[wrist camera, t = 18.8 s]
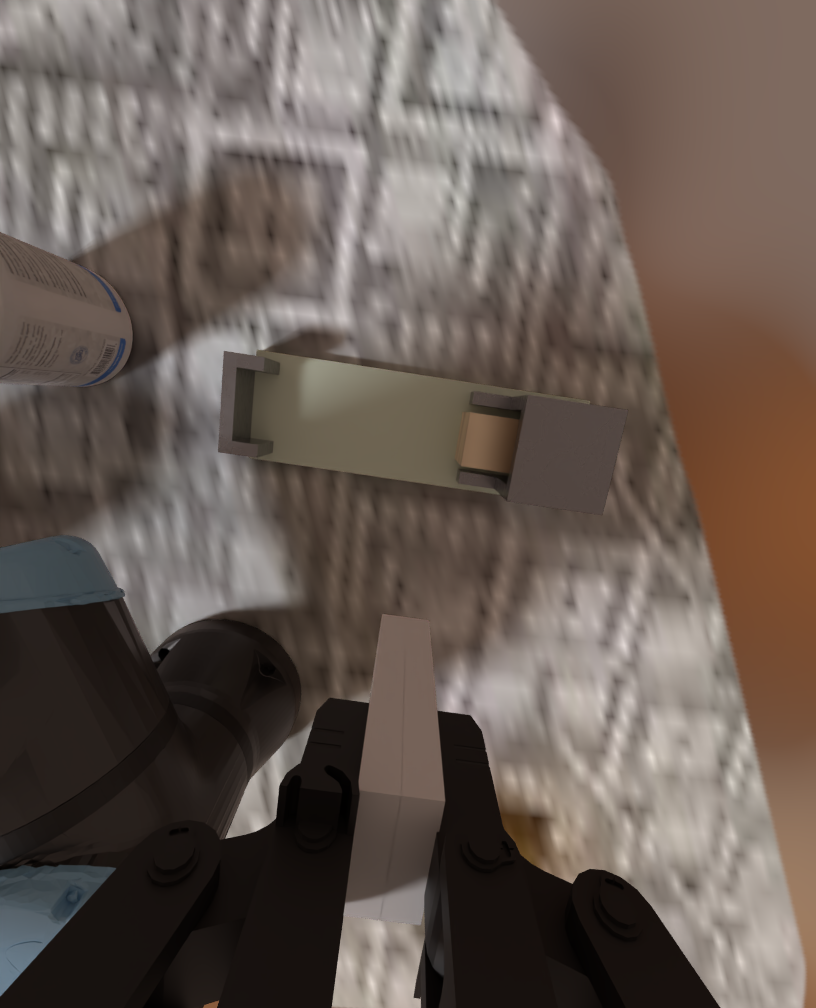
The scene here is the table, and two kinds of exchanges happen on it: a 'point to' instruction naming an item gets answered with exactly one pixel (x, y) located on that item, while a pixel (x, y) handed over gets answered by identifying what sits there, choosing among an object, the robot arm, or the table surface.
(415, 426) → the board
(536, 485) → the cap
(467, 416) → the brown block
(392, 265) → the table surface
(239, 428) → the cap
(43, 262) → the supplement tub
